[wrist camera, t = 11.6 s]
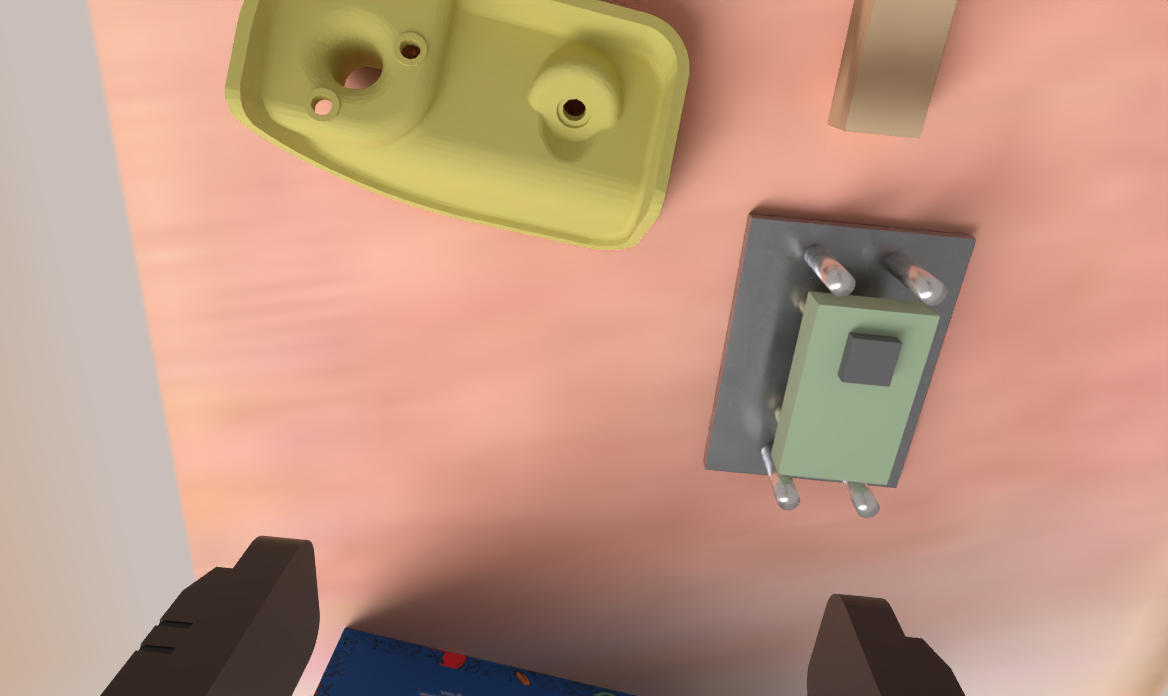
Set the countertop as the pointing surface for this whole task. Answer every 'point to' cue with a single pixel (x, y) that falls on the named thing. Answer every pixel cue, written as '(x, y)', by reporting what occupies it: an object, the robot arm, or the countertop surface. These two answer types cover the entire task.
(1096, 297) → the countertop surface
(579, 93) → the plastic component
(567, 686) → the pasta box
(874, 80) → the block
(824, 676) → the robot arm
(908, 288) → the chassis
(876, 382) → the board
